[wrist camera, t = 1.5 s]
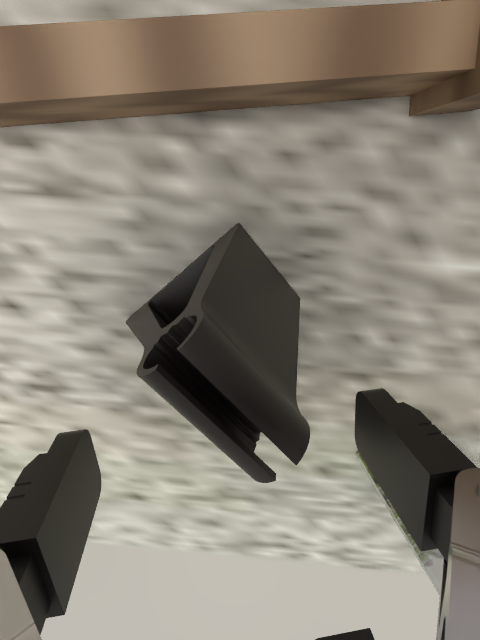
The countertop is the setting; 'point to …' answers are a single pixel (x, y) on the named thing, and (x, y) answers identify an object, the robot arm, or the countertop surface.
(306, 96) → the door-edge rail
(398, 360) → the countertop surface
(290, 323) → the phone stand
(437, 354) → the countertop surface
